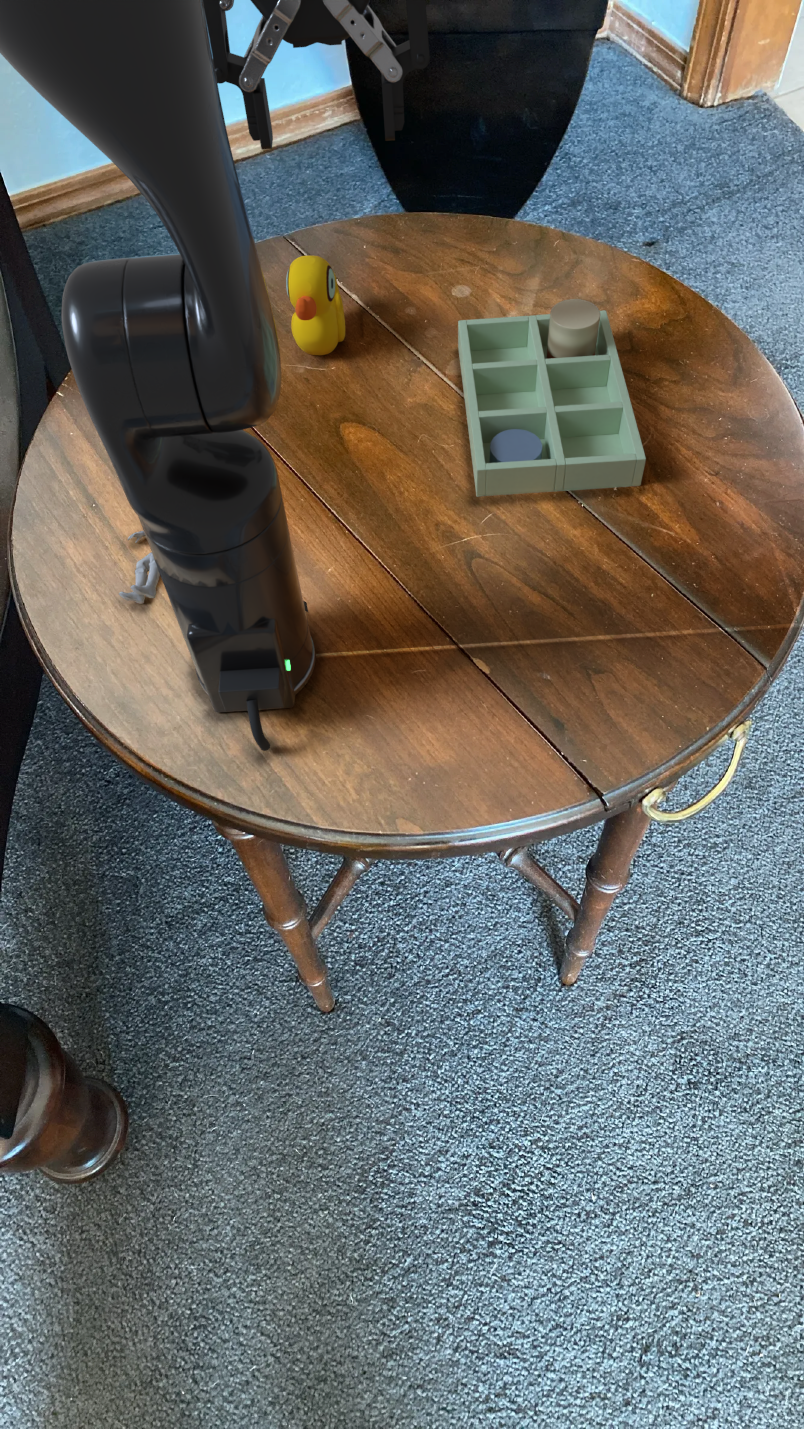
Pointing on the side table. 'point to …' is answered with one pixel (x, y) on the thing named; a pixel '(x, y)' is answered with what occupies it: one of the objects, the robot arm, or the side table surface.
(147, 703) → the side table surface
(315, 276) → the duckling
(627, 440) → the green rectangular divided tray
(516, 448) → the slate token
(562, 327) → the cream token
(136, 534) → the soldier figure
